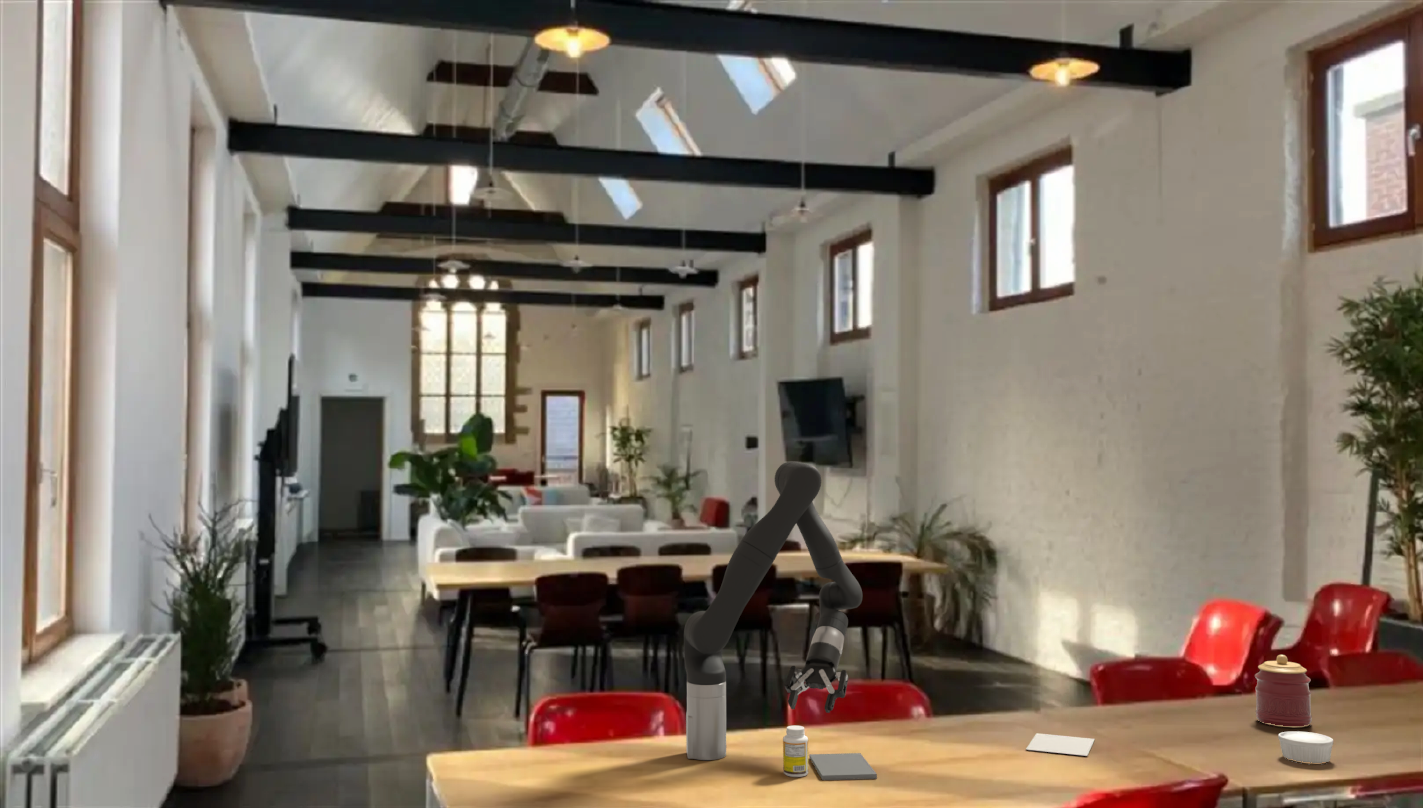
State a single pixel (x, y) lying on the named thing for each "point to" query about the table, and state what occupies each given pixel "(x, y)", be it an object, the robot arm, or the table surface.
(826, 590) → the robot arm
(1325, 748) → the ramekin
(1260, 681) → the canister
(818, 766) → the mat
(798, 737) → the supplement bottle
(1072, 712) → the table surface
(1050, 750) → the paper stack
